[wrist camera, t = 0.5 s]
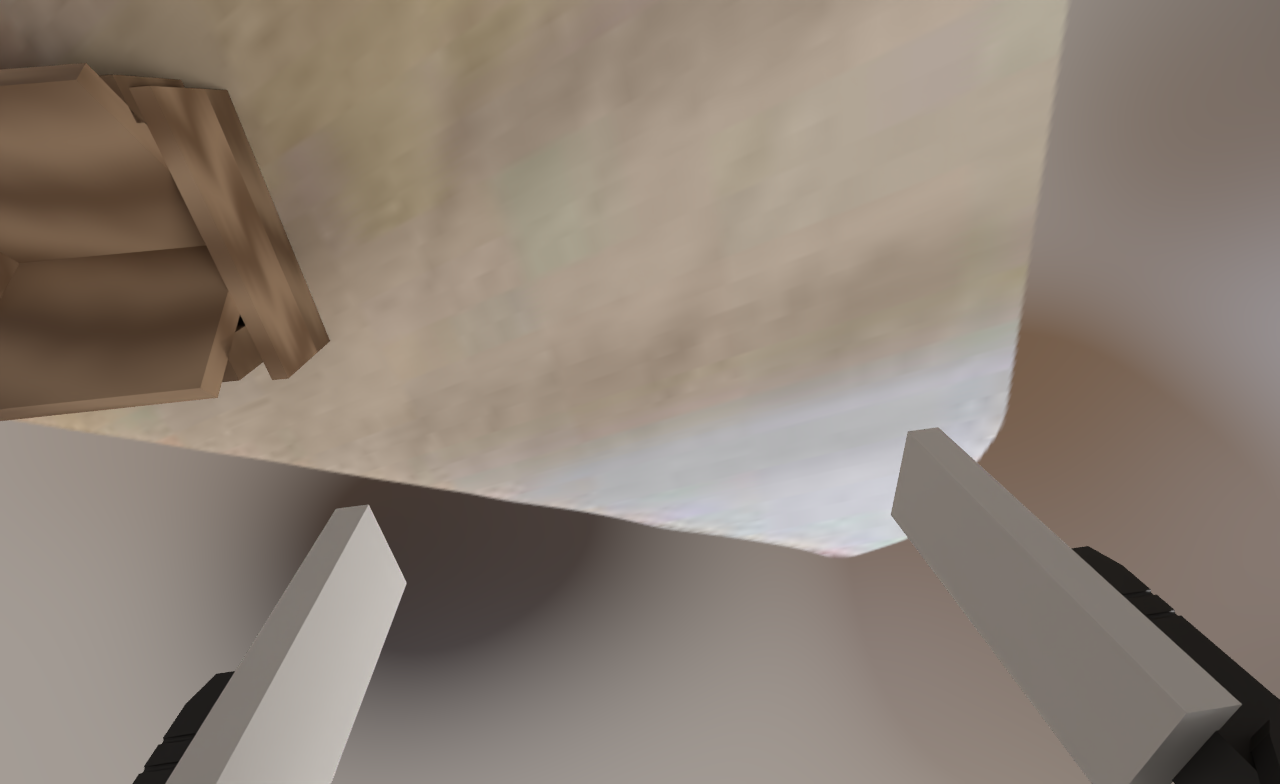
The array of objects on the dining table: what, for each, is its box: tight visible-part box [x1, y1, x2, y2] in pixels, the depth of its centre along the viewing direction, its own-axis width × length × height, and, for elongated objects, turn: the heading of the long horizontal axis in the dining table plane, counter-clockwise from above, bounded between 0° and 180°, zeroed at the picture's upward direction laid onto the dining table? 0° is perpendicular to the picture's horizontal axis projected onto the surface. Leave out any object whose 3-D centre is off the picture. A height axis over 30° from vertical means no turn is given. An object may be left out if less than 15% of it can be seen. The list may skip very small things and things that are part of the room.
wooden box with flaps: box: [0, 63, 330, 421], centre depth 28 cm, size 17×15×11 cm
